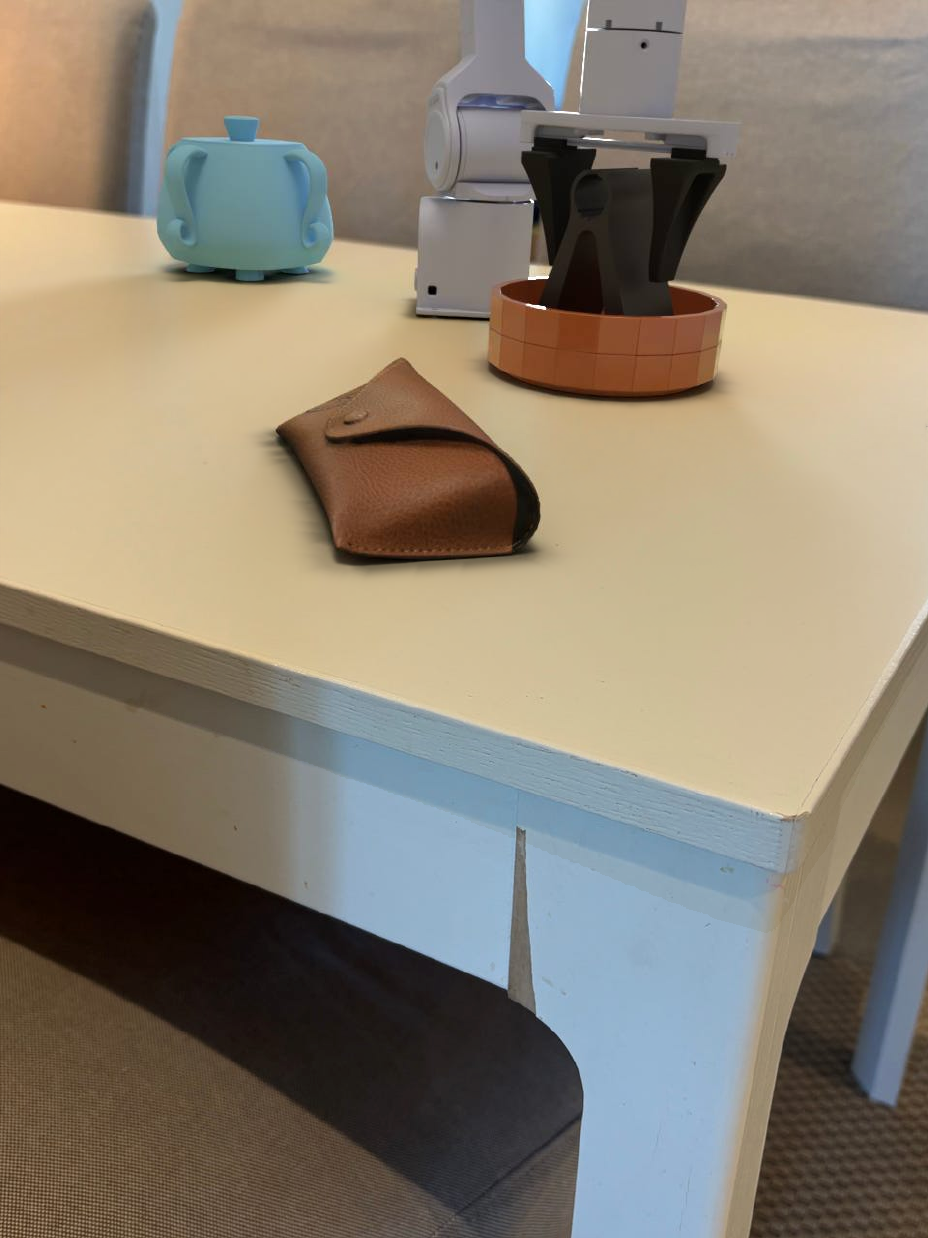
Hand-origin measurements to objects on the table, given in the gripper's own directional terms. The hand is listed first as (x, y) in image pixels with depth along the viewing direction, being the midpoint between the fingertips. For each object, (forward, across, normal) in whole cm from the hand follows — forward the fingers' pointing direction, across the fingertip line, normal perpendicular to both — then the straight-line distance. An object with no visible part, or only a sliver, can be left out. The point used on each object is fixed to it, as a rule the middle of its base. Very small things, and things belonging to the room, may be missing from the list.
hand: (609, 272), depth 69 cm
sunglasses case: (+7, -6, +27) cm, 29 cm away
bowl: (+6, 0, 0) cm, 6 cm away
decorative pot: (+7, +46, -8) cm, 47 cm away
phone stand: (+6, 0, 0) cm, 6 cm away
